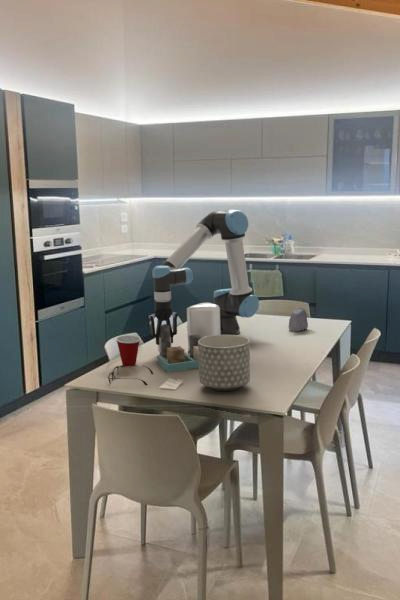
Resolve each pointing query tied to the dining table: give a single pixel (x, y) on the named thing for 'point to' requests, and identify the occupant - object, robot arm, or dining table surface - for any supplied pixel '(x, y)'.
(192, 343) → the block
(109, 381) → the eyeglasses
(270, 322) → the dining table surface
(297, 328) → the stone
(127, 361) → the plastic cup
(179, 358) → the block
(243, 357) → the planter
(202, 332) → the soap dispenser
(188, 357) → the teal tray
